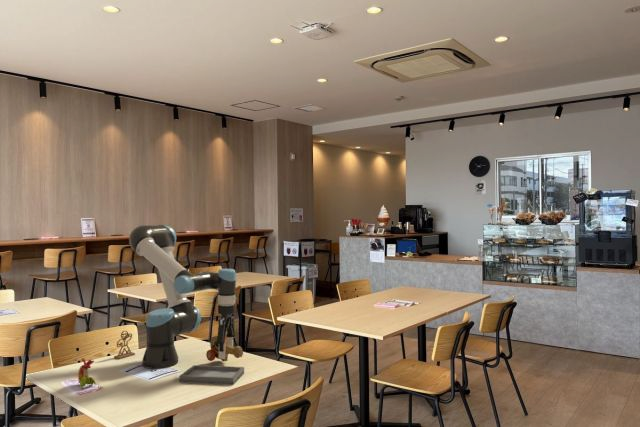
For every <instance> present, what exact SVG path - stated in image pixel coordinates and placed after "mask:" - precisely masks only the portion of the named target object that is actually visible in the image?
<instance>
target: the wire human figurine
mask: <svg viewBox="0 0 640 427" xmlns="http://www.w3.org/2000/svg"><path fill="white" fill-rule="evenodd" d="M128 338H129V339H128ZM132 338H133V334H132V333H129V332H128V331H127V330H122V331H121V333H120V339H118V340H117V342H116V347H117V348H120V349H119V351H118V354H117V355H113V359H115V360H122V359H126V358H128V357H133V356H135V355H136V352H133V351H131V349H130V347H129V346H128V344H129V342H130V341H131V340H132ZM127 339H128V340H127ZM120 341H123V342H120ZM126 347H127V349H126ZM122 349H123V350H122Z"/></svg>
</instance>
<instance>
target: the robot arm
mask: <svg viewBox="0 0 640 427" xmlns="http://www.w3.org/2000/svg"><path fill="white" fill-rule="evenodd" d="M128 241H129V242H128V243H129V246H130V248H131V249H132V251H133V252H135V254H136V255H138V256H140V257H144V258H145V259H146V260H147V261H148V262H150V263H151V264H152V265H153V266H154V267H156V269H157V270H158V274H159V277H160V280H161V284H162V287H163V290H164V294H165V298H166V301H167V303H168V305H167V307H165V308H158V309H154V310H151V311H150V312H149V313H147V315H146V322H145V325H146V326H145V327H146V348H145V350H144V354H143V358H142V366H143V367H144V368H146V367H148V368H147V369H164V368H169V367H172V366H175V365H177V364H178V363H179V355H178V353H177V352H178V351H177V350H176V345H175V337H177V336H180V335H183V334H189V333H191V332H194V331H196V330H197V329H198V328H199V327H200V323H201V320H202V314H201V311H200V309H199V308H198V307H197V306H194V305H193V303H192V301H191V300H190V299H188V297H187V294H190V293H196V292H200V291H205V290H216V291H217V304H218V305H217V314H219V315H221V317H220V319H218V326H217V335H216V336H217V344H219V359H218V360H221V359H225V338H227V344H228V345H231V346H233V347H234V338H235V337H236V334H235V333H236V331H235V313H236V300H237V297H236V286H237V284H236V283H237V275H236V270H235V269H233V268H220V269H218V272H213V271H207V270H206V271H200V272H199V273H194V274H193V273H191V272H190V271H189V270H187V268H185V267H184V266H183V265H181V264H180V263H179V262H178V261H177V260H176V259H175V256H174V251H175V249H176V248H175V245H176V243H177V233H176V232H175V230H174V229H173V227H171V226H168V225H164V224H157V225H155V224H153V225H152V224H151V225H145V224H143V225H139V226H137V227H135V228H134V229H133V230H132V231H131V232H130V234H129V236H128Z"/></svg>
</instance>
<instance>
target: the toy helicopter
mask: <svg viewBox="0 0 640 427" xmlns="http://www.w3.org/2000/svg"><path fill="white" fill-rule="evenodd" d="M217 336H218V335H215V336H212V337H211V338H210V343H209V344H210V349H208V350H207V351H206V353H205V355H206V358H207V361H209V362H212V361H214V360H215V359H218V360H221V361H222V362H227V361H228V360H229V357H228V355H233V356H234V358H236V359H239V358H242V357H243V355H244V350H243V347H241V346H240V345H237V346H234V345H233V346H231V345H228V344H227V337H226V338H225V359H219V344H217Z"/></svg>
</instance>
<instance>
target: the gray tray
mask: <svg viewBox="0 0 640 427" xmlns="http://www.w3.org/2000/svg"><path fill="white" fill-rule="evenodd" d="M244 374H245V366H229V365H227V366H226V365H225V366H223V365H199V364H198V365H195V364H194V365H192V366H190V367H189V368H188V369H186V370H185V371H184V372H182V374H180V375H179V383H188V384H189V383H190V384H191V383H192V384H208V385H210V384H211V385H231V386H234V385H235V384H236V382H238V381H239V379H240V378H241V377H242V376H243V375H244Z"/></svg>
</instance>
